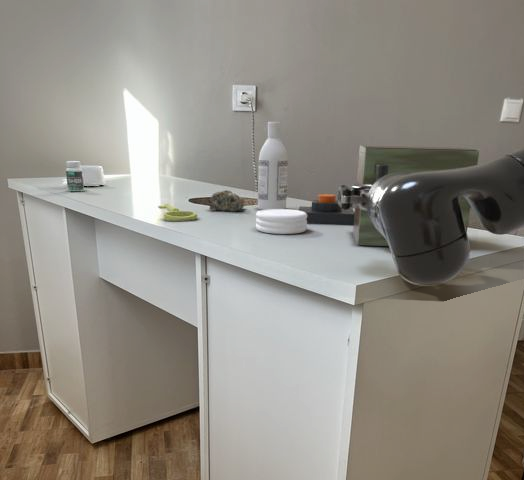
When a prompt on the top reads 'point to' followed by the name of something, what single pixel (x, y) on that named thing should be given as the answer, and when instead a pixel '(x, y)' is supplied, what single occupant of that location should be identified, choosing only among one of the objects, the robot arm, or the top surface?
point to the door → (408, 162)
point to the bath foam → (272, 171)
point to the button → (327, 198)
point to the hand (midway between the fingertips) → (385, 192)
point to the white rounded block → (92, 175)
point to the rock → (226, 201)
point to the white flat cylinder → (281, 221)
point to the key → (177, 214)
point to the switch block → (328, 213)
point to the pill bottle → (74, 176)
